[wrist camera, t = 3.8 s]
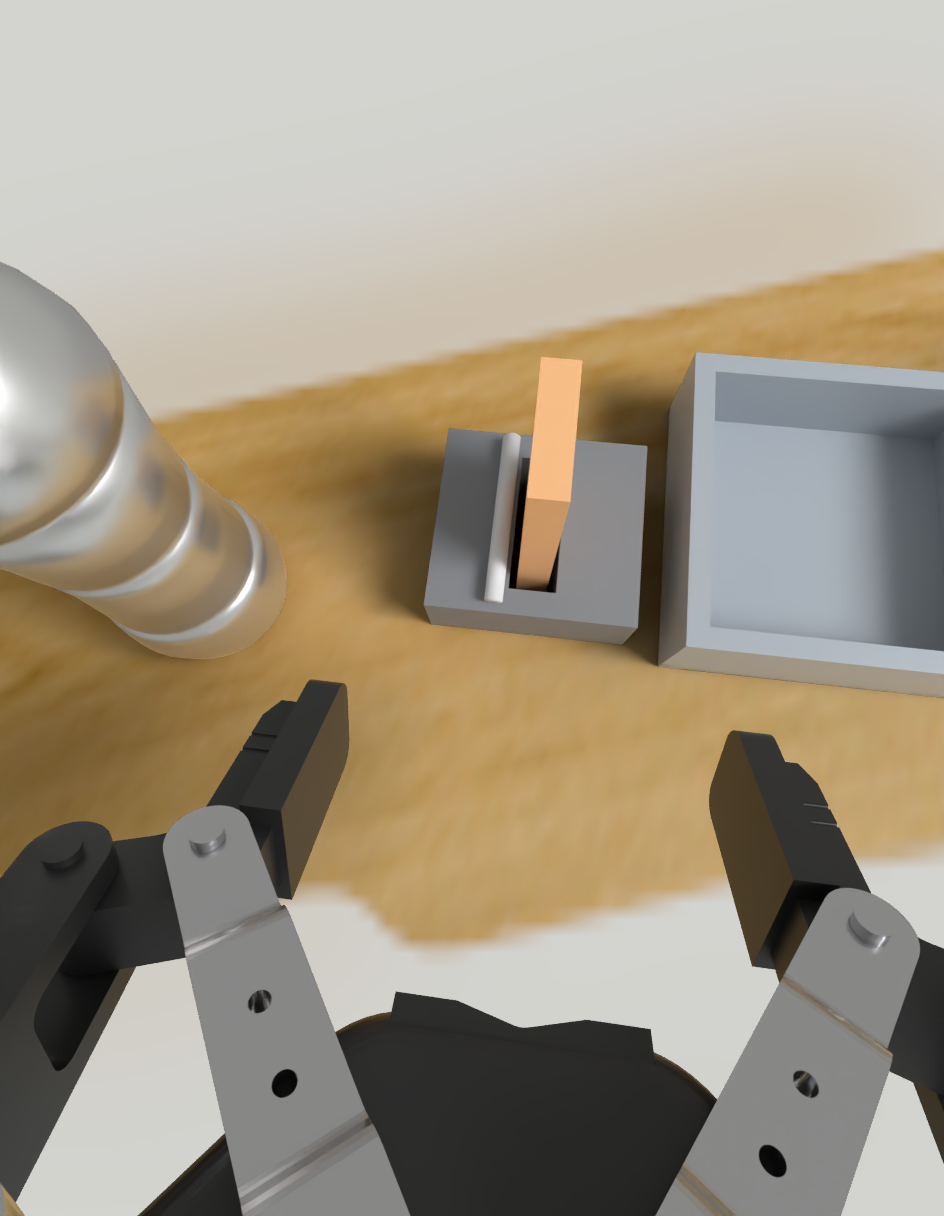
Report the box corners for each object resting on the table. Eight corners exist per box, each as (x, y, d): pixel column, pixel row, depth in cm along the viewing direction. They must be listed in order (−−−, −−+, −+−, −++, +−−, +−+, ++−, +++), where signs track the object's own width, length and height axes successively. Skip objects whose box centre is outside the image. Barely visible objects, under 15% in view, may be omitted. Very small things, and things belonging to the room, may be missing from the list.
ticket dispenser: (430, 624, 27) (421, 600, 24) (453, 463, 29) (447, 418, 25) (622, 644, 27) (642, 623, 23) (631, 480, 29) (651, 437, 25)
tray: (657, 666, 26) (686, 646, 22) (669, 409, 29) (695, 352, 26) (962, 699, 26) (1046, 685, 22) (941, 432, 29) (1011, 377, 25)
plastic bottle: (156, 529, 29) (-538, 4, 9) (307, 524, 28) (-84, -19, 9) (139, 672, 27) (-751, 392, 8) (299, 668, 27) (-199, 371, 7)
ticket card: (515, 598, 27) (526, 497, 18) (525, 501, 28) (541, 356, 19) (543, 601, 27) (570, 501, 18) (552, 504, 28) (582, 360, 19)
